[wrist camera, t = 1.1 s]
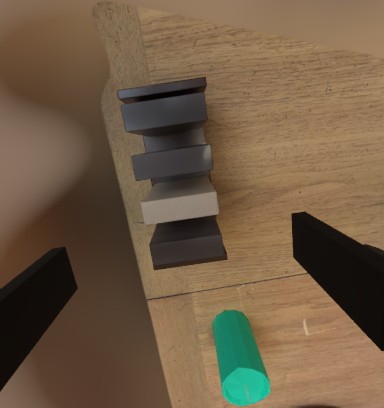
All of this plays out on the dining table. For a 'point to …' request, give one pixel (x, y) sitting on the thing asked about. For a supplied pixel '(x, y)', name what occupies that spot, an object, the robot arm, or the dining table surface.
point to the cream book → (180, 201)
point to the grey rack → (174, 163)
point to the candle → (239, 360)
